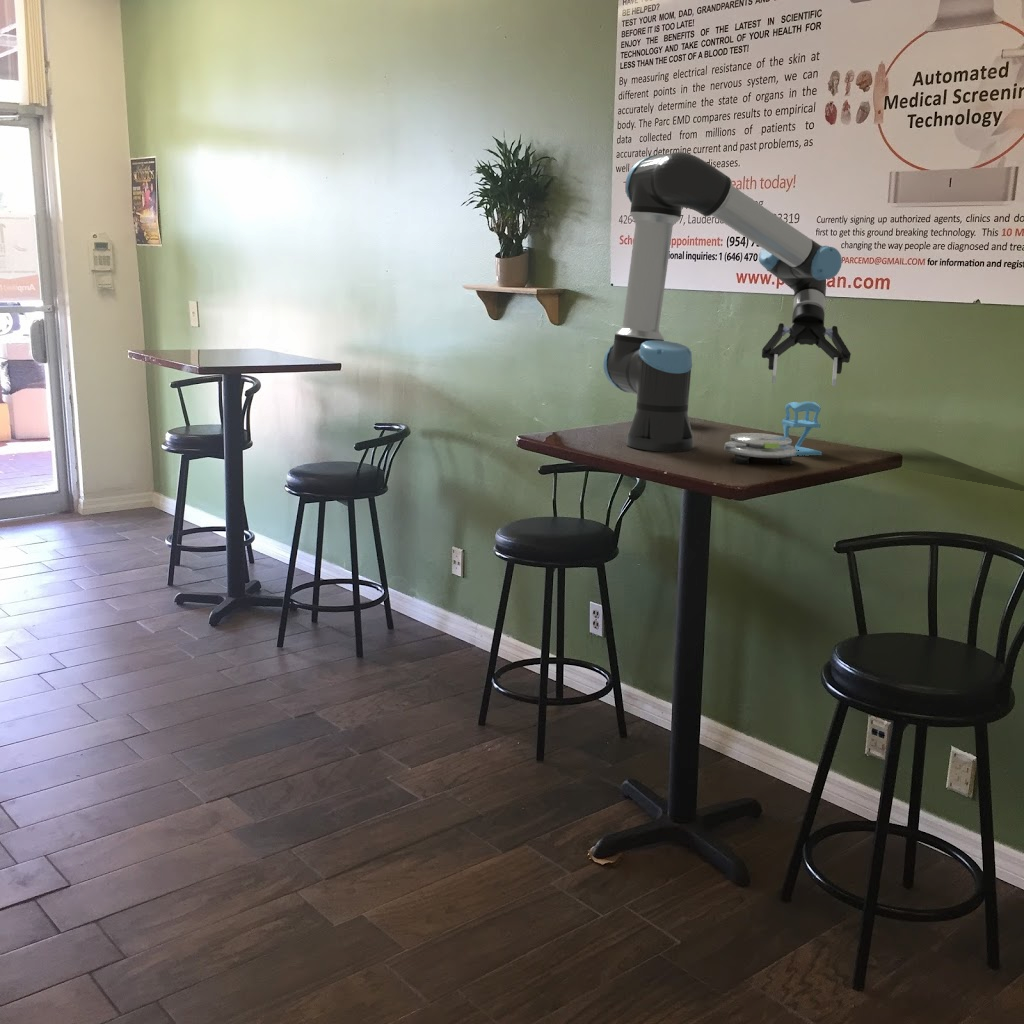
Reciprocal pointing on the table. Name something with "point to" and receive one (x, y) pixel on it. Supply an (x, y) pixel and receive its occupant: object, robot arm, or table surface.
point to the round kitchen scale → (760, 447)
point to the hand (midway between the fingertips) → (803, 381)
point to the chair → (802, 424)
